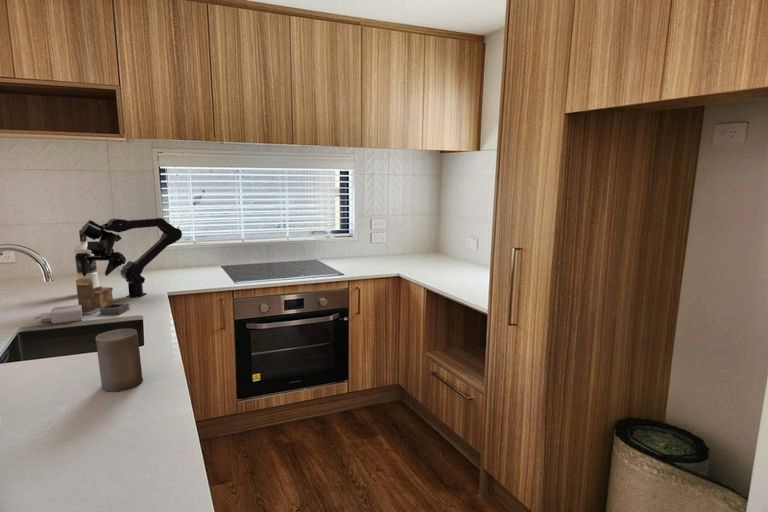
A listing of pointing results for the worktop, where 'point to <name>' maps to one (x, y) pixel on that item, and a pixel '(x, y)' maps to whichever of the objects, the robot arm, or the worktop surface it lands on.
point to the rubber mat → (92, 311)
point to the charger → (63, 314)
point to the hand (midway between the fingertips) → (94, 275)
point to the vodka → (93, 269)
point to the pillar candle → (119, 359)
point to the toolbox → (102, 296)
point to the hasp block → (114, 309)
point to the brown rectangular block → (85, 294)
